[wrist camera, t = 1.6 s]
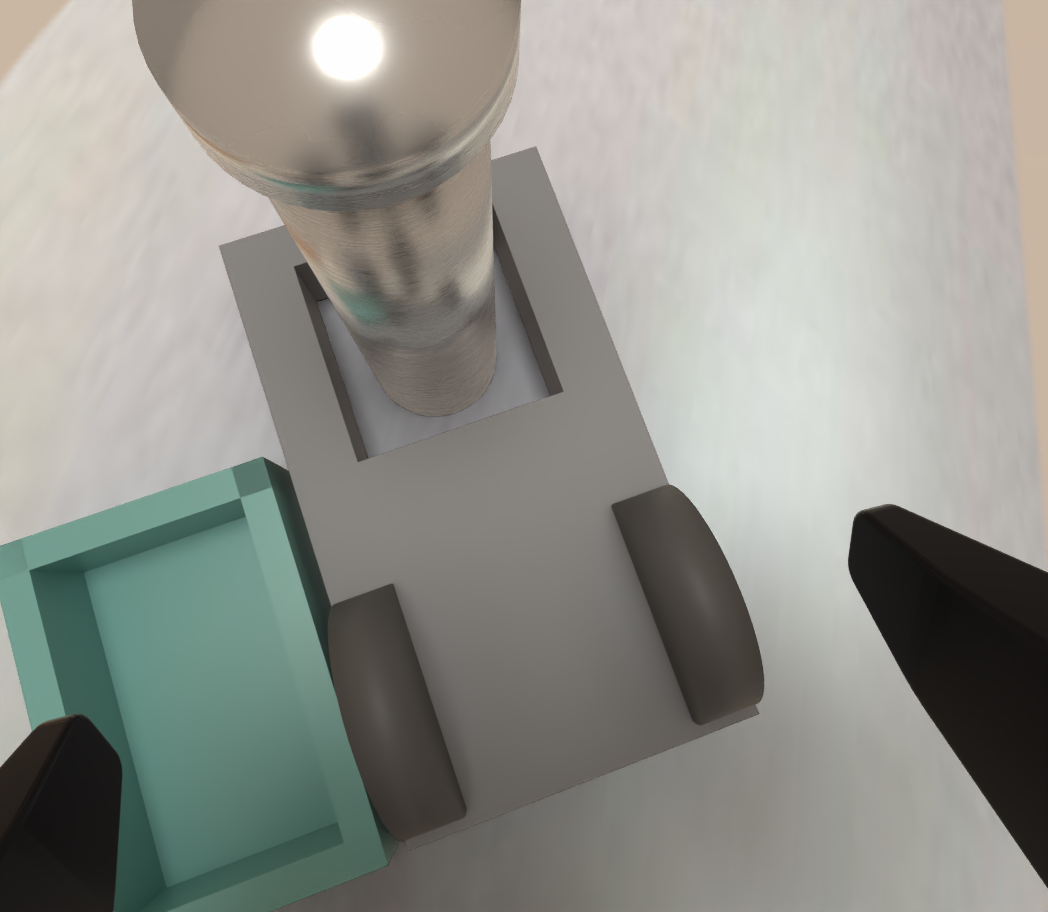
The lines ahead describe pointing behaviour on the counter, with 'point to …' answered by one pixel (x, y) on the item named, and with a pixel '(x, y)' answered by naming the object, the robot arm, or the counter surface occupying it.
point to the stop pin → (363, 158)
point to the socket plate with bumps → (500, 551)
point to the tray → (200, 690)
